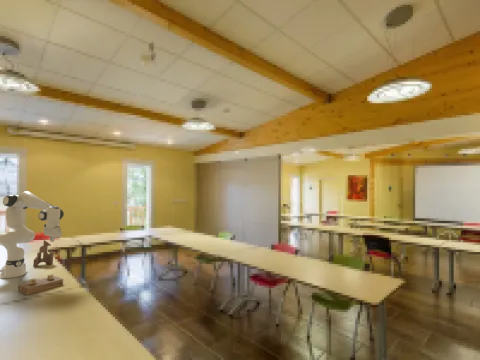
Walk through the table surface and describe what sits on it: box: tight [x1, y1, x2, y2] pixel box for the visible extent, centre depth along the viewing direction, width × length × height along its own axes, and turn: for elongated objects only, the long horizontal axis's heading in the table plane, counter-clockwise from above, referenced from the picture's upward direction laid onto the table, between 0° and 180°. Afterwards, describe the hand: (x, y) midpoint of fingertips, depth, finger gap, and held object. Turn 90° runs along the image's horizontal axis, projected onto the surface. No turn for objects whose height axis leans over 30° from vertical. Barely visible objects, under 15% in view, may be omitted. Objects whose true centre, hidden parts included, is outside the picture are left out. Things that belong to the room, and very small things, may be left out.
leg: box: [29, 278, 37, 286], centre depth 191 cm, size 4×4×8 cm
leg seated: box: [47, 274, 54, 281], centre depth 202 cm, size 4×4×8 cm
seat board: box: [17, 275, 64, 296], centre depth 197 cm, size 14×24×4 cm, turn 154°
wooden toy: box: [33, 239, 54, 268], centre depth 252 cm, size 16×7×25 cm, turn 129°
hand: (52, 241), depth 212 cm, fingers closed
